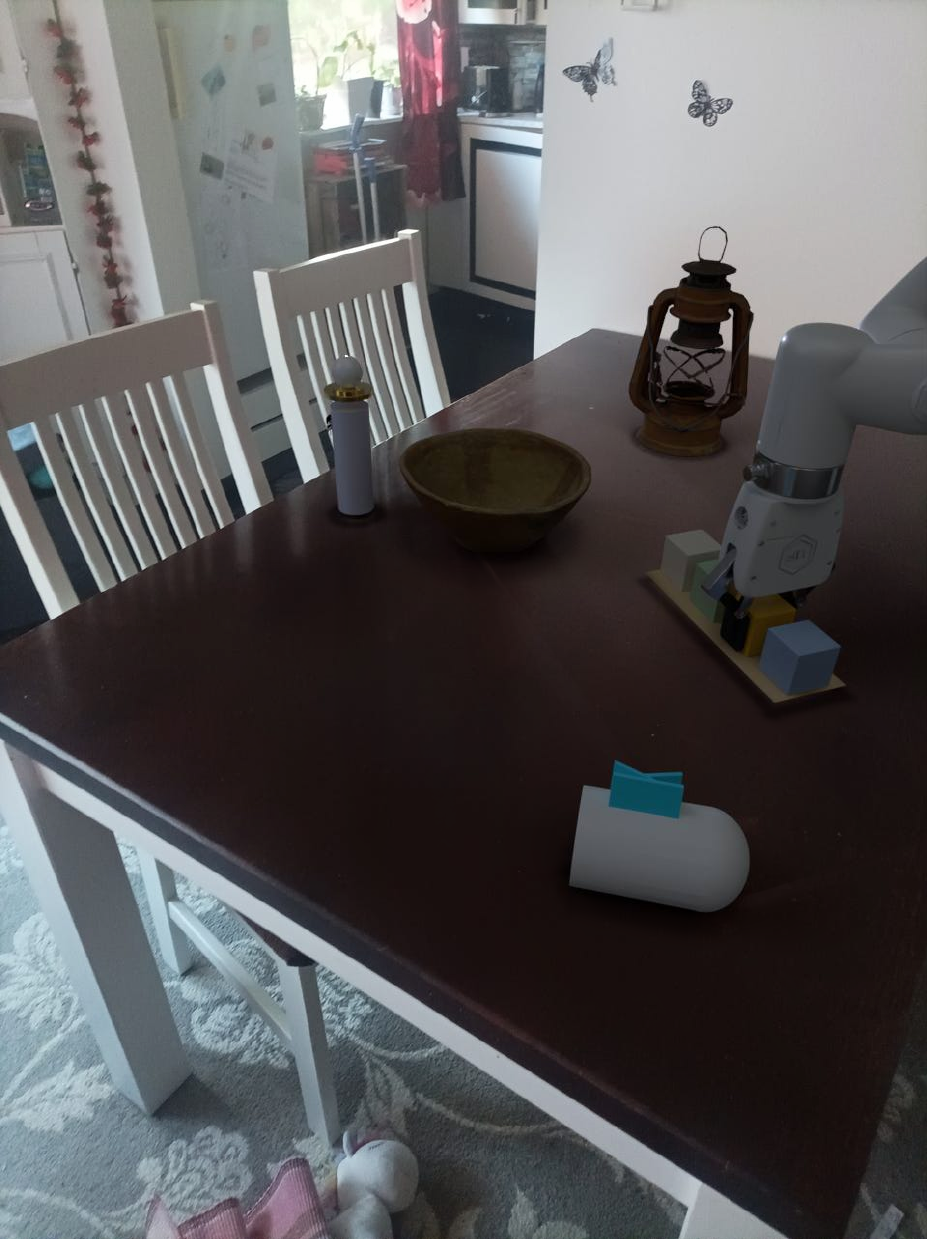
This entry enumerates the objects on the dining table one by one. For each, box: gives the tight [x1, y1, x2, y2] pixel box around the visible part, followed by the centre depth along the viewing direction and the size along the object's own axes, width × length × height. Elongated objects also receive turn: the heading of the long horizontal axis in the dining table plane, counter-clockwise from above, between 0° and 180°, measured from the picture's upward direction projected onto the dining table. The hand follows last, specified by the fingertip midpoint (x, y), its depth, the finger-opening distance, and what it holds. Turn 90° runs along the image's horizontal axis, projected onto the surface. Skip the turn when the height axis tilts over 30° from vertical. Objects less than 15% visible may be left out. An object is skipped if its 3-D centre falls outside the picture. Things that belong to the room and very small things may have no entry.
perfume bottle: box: [323, 355, 375, 516], centre depth 105 cm, size 6×6×20 cm
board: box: [644, 568, 847, 704], centre depth 90 cm, size 8×24×1 cm, turn 19°
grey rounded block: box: [568, 759, 751, 913], centre depth 64 cm, size 12×9×12 cm
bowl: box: [398, 427, 592, 555], centre depth 103 cm, size 22×23×10 cm
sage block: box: [690, 559, 730, 623], centre depth 91 cm, size 5×5×5 cm
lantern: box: [628, 225, 755, 458], centre depth 123 cm, size 17×13×30 cm
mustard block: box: [736, 592, 798, 657], centre depth 86 cm, size 5×5×5 cm
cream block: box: [660, 529, 722, 592], centre depth 95 cm, size 5×5×5 cm
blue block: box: [758, 619, 842, 696], centre depth 81 cm, size 5×5×5 cm
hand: (754, 636), depth 87 cm, fingers closed on mustard block, 4 cm apart
